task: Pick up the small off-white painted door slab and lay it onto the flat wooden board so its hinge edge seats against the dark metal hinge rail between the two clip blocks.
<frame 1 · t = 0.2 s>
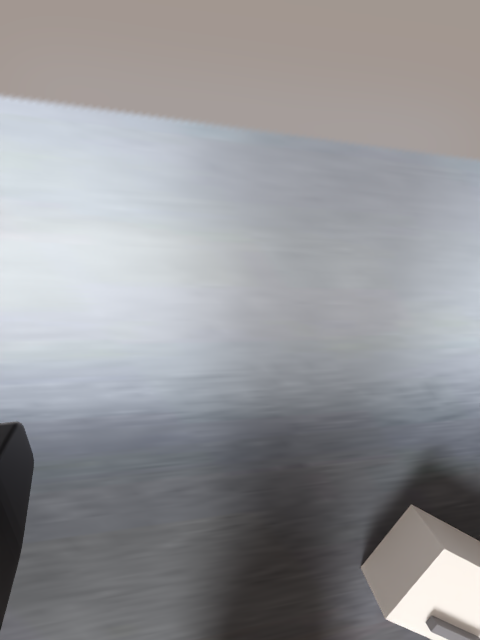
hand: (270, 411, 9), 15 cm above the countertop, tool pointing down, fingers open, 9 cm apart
door: (433, 558, 31), on the countertop
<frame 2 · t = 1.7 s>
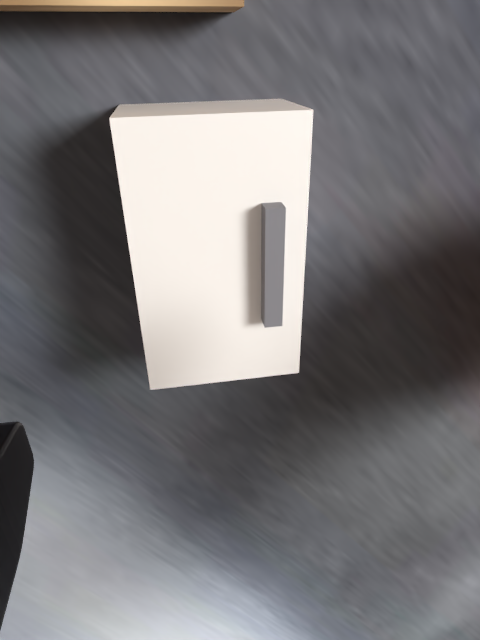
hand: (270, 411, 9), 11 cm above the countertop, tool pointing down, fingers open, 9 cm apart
door: (208, 227, 18), on the countertop
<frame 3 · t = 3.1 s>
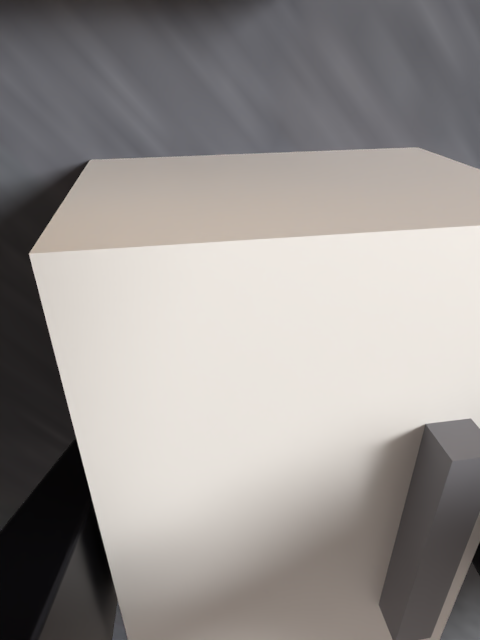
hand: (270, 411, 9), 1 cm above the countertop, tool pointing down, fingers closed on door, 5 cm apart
door: (258, 372, 10), on the countertop, touching gripper
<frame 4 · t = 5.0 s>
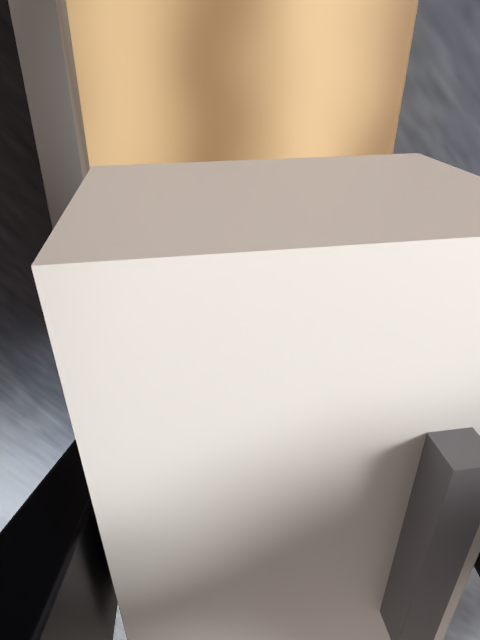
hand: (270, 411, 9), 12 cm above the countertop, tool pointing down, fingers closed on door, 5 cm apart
door: (259, 377, 10), point 11 cm above the countertop, touching gripper
wooden board: (223, 127, 17), on the countertop
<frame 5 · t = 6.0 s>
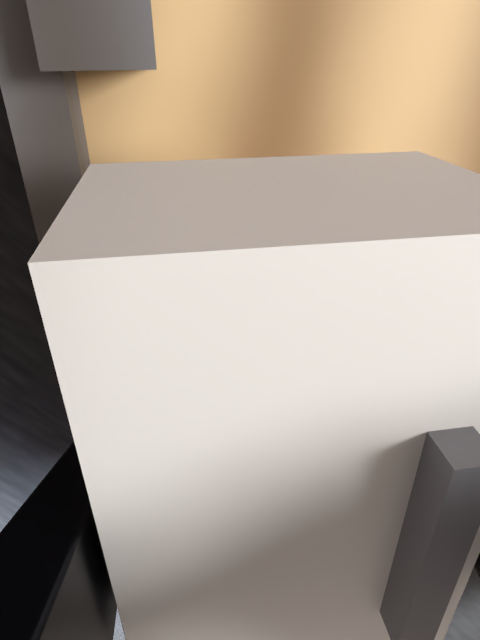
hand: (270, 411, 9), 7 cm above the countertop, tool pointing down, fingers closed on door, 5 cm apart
door: (258, 376, 10), point 6 cm above the countertop, touching gripper
wooden board: (264, 255, 15), on the countertop
when the fingers open (5 cm above the countertop, at t = 6.8 s): door drops 2 cm, resting on wooden board.
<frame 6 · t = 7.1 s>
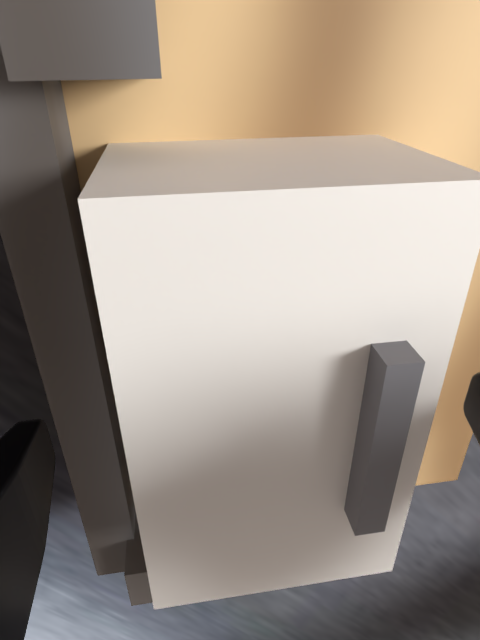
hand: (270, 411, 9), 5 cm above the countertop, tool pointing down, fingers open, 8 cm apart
door: (247, 329, 12), point 2 cm above the countertop, touching wooden board
wooden board: (282, 286, 13), on the countertop
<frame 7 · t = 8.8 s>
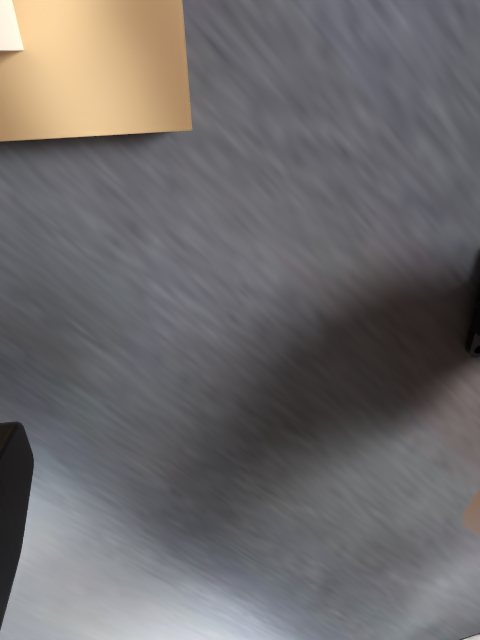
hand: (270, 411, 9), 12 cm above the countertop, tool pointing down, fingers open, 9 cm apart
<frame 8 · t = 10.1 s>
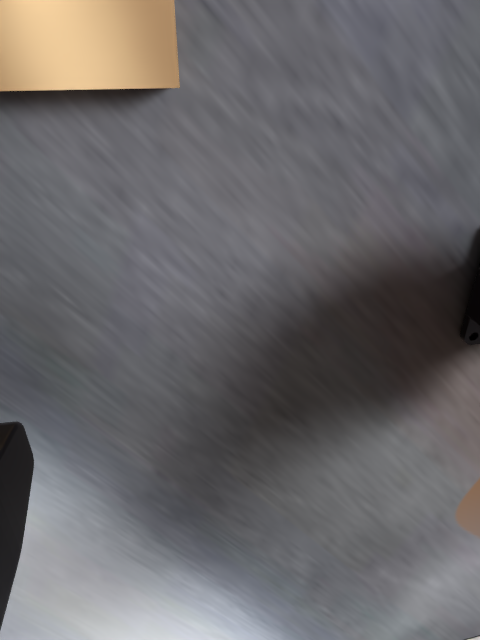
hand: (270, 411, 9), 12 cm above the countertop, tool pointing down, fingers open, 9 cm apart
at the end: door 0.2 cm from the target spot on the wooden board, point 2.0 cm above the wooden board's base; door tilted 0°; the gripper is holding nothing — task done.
